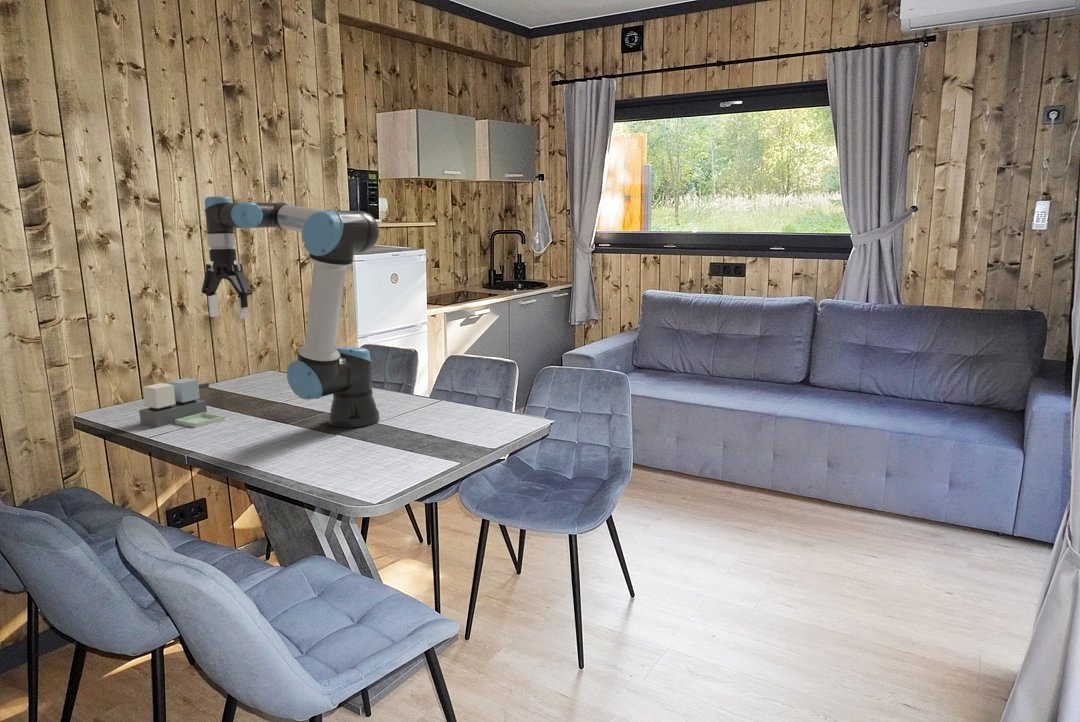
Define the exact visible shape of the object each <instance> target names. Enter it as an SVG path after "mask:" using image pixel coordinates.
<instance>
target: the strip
mask: <svg viewBox="0 0 1080 722" xmlns="http://www.w3.org/2000/svg"><path fill="white" fill-rule="evenodd" d="M168 384H171V385H174V393H175V403H176V404H174V405H171V408H170V409H166V410H162V411H158V412H157V411H152V410H151V408H150V407H147V408H143V409H139V410H138V413H139V420H140V425H142V426H147V427H152V428H156V429H157V428H158V429H159V428H161V427H166V426H170V425H172V424H175V419H179V418H183V417H187V416H191V415H194V414H198V413H202V412H205V413H208V411H207V410H208V409H207V401H206V400H201V396H200V390H202V389H207V388H209V387H210V383H208V382H205V383H201V384H199V379H195V378H189V377H184V378H179V379H174V380H169V381H168Z"/></svg>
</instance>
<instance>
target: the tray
mask: <svg viewBox="0 0 1080 722" xmlns="http://www.w3.org/2000/svg"><path fill="white" fill-rule="evenodd" d="M225 419H226V418H225V415H220V414H216V413H210V412H207V413H205V412H202V413H198V414H194V415H191V416H187V417H183V418H179V419H175V423H174V424H176V425H180V426H186V427H190V428H195V429H197V428H200V427H204V426H208V425H212V424H215V423H216V424H217V423H219V422H223V421H226V420H225Z"/></svg>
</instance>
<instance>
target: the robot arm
mask: <svg viewBox="0 0 1080 722" xmlns="http://www.w3.org/2000/svg"><path fill="white" fill-rule="evenodd" d="M204 214H205V222H206V232H207V233H206V234H207V246H208V248H210V249H209V250H208V253H209V260H210V262H212V263H206V265H205V274H204V279H203V283H202V287H201V294H203V295H204V294H205V296H206V297H207V305H208V313H209V317H210V318H212V317H219V315H220V314H219V306H218V305H219V303H218V295H217V293H216V292H217V290H218V288H219V286H220V284H221V281H222V280H227V281H229V283H230V285H231V287H233V289H234V290H235V292H236V294H237V298H236V300H237V309H238V319H240V320H243V319H248V318H249V314H248V308H249V304H248V303H249V302H248V296H251V295H253V292H252V291H253V290H252V289H251V287H250V284H249V282H248V279H247V277H246V274H245V272H244V269H243V264H241V263H237V264H235V261H236V260H237V251H236V248H234V247H236V241H235V231H234V229H260V228H263V229H264V228H275V229H282V230H288V231H293V232H299V233H301V240H302V243H304V244H303V246H304V247H303V248H304V249H305V251H306V252H308V258H309V259H310V261H311V262H312V263H313V271H312V277H311V287H310V297H309V304H308V311H307V312H308V313H307V321H306V329H305V339H304V344H303V345H302V346H301V347H299V349H297V350H298V351H297V358H296V360H293V361H292V362H290V363H289V364H288V366H287V369H286V379H287V383H288V385H289V387H290V389H291V391H292V392H293V394H295V395H296V396H297V397H298V398H300V399H302V400H305V401H309V400H314V399H315V400H316V399H317V400H318V399H320V398H322V397H326V396H330V395H332V397H333V398H332V400H331V401H332V402H331V405H330V412H329V414H328V424H329V425H330V426H332V427H337V428H359V427H366V426H367V427H368V426H370V425H373V424H377V422H380V411H379V409H377V405H376V402H375V399H374V397H373V384H372V383H373V382H372V381H373V380H372V360H371V352H370V351H369V349H367V348H365V347H357V346H337V342H338V334H339V333H338V332H339V328H340V327H339V326H340V325H339V324H340V317H341V311H342V304H343V303H342V302H343V294H344V287H345V281H346V280H345V279H346V272H347V268H349V267H351V265H353V261H354V255H355V254H358V253H365V252H366V251H369V250H371V249H372V248H373V247H374V246H375V245H376V244H377V242H378V240H379V236H380V226H379V224H378V222H377V220H376V218H375V217H374V216H373V215H372V214H370V213H368V212H366V211H362V210H335V209H333V210H331V209H326V210H322V209H316V208H310V207H304V206H298V205H292V204H291V203H289V202H279V201H278V202H253V201H252V202H251V201H239V202H238V201H237V202H232V199H231V197H229V196H226V195H225V196H221V195H220V196H207V197H206V198H204Z"/></svg>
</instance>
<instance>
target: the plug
mask: <svg viewBox="0 0 1080 722" xmlns="http://www.w3.org/2000/svg"><path fill="white" fill-rule="evenodd" d="M142 390H143V398H144V407H147V408H151V410H152V411H157V412H158V411H162V410H166V409H170V408H171V405H174V404H176V403H175V402H176V401H175V393H174V385H171V384H169V383H164V382H159V383H155V384H150V385H145V386H142Z"/></svg>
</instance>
